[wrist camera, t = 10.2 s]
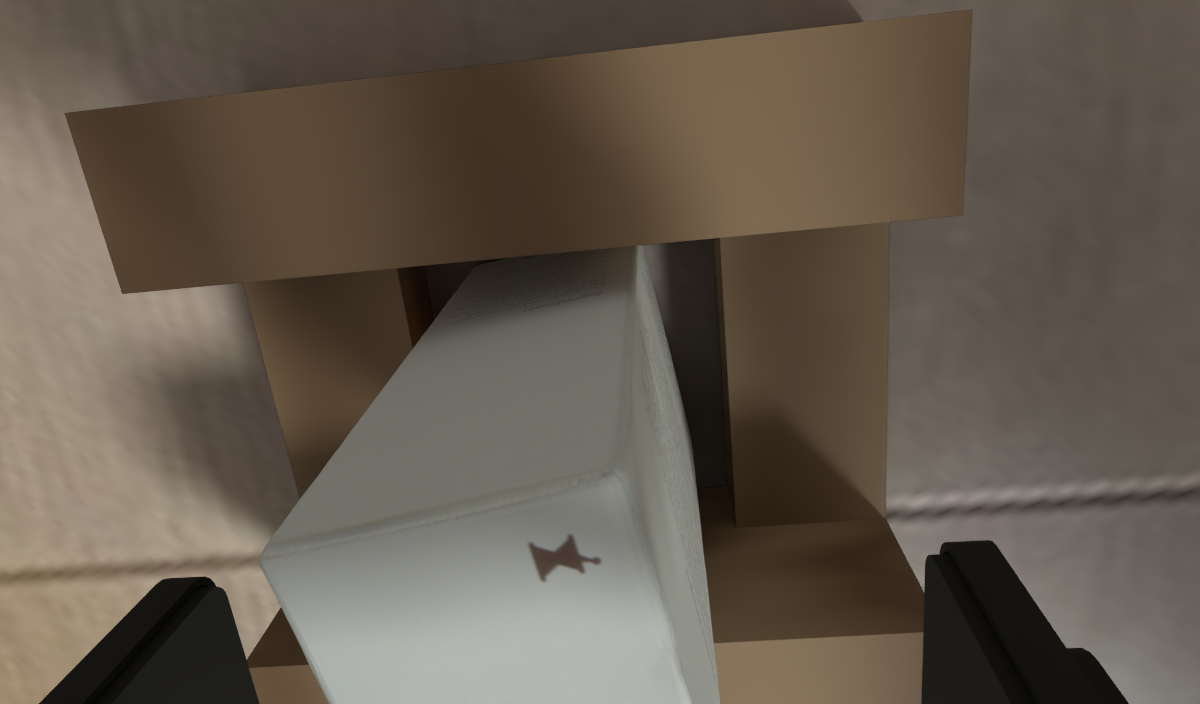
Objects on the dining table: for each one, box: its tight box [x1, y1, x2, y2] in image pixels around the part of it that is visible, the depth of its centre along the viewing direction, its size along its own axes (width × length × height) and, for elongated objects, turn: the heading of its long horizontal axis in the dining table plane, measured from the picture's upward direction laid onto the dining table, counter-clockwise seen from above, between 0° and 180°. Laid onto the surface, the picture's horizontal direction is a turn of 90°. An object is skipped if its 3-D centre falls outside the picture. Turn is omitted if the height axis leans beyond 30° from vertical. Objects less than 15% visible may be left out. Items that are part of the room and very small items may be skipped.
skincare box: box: [260, 245, 720, 704], centre depth 15 cm, size 6×4×12 cm
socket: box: [65, 10, 972, 704], centre depth 18 cm, size 14×14×6 cm
